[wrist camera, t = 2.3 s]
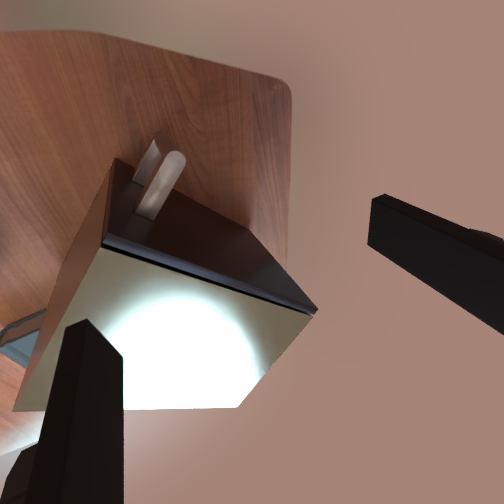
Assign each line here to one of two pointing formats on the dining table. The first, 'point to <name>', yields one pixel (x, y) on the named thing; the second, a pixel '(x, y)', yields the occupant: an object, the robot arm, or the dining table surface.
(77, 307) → the storage compartment
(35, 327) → the book
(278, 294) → the compartment door
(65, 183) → the dining table surface
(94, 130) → the dining table surface
